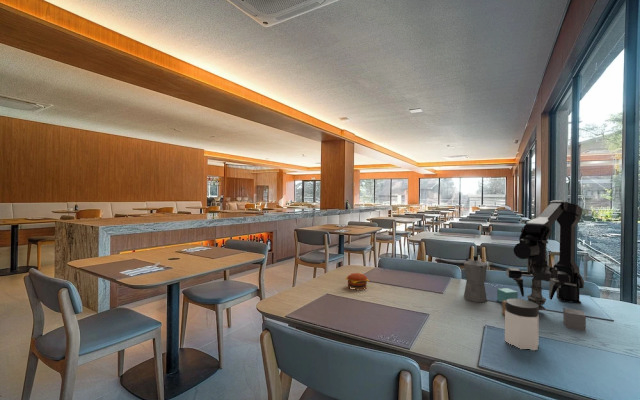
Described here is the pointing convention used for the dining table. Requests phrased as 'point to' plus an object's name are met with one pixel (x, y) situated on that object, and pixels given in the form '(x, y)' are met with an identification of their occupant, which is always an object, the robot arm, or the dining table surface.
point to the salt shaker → (537, 294)
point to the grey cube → (574, 319)
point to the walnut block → (503, 307)
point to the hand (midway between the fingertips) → (536, 297)
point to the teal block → (506, 294)
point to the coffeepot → (475, 280)
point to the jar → (522, 323)
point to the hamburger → (357, 281)
